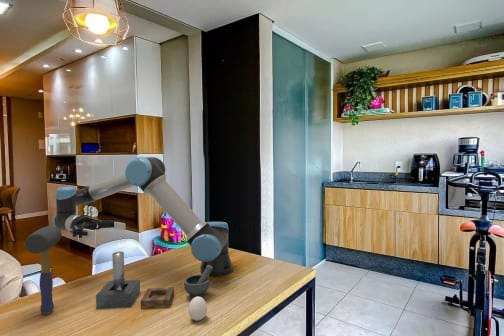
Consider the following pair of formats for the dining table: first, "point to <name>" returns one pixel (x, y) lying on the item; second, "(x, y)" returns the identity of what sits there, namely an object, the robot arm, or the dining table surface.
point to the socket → (118, 295)
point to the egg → (197, 308)
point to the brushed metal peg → (118, 271)
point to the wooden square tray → (157, 298)
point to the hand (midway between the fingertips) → (110, 230)
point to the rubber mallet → (44, 261)
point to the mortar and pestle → (198, 284)
